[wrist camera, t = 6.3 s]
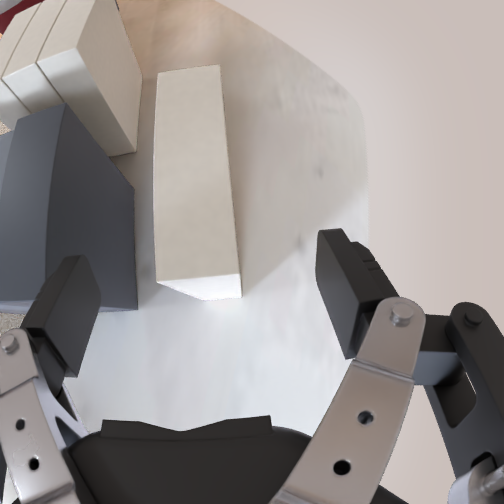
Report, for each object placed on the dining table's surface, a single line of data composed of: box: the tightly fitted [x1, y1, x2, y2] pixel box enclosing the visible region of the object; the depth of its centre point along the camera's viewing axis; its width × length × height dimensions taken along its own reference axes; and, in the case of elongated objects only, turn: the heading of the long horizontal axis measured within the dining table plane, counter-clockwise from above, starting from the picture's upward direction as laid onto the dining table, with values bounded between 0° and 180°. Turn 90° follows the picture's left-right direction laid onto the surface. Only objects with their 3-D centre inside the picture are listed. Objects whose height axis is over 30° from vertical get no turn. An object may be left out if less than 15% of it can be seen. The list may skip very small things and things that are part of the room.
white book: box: [153, 64, 242, 301], centre depth 16 cm, size 3×9×12 cm, turn 6°
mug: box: [0, 0, 45, 35], centre depth 22 cm, size 10×8×10 cm
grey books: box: [0, 102, 138, 314], centre depth 16 cm, size 10×9×11 cm
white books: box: [0, 0, 143, 157], centre depth 18 cm, size 8×9×12 cm
